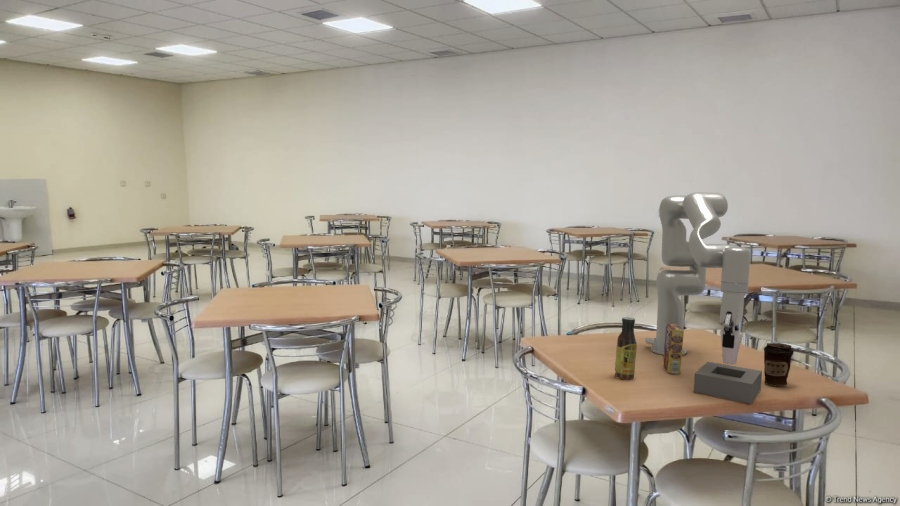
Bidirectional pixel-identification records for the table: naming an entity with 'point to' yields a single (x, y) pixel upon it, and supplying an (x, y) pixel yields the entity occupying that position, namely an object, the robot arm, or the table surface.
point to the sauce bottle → (626, 350)
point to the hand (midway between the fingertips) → (730, 344)
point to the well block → (728, 382)
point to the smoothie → (729, 353)
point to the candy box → (673, 348)
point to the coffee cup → (777, 363)
